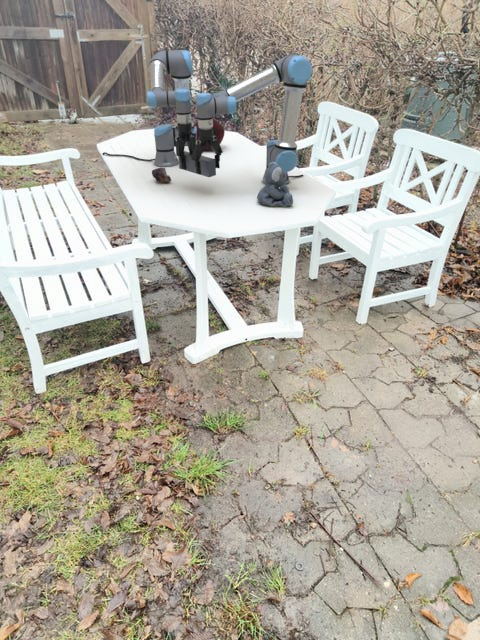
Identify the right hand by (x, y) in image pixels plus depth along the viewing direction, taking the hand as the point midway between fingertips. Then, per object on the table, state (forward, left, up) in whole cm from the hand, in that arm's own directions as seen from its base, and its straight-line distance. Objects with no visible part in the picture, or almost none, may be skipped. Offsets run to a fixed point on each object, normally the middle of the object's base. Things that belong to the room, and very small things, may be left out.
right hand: (208, 170), depth 236 cm
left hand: (+5, -16, -1) cm, 16 cm away
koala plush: (-24, +28, -13) cm, 39 cm away
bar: (+3, -8, -2) cm, 9 cm away
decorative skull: (-43, -90, -13) cm, 101 cm away
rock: (+14, -34, -13) cm, 39 cm away
